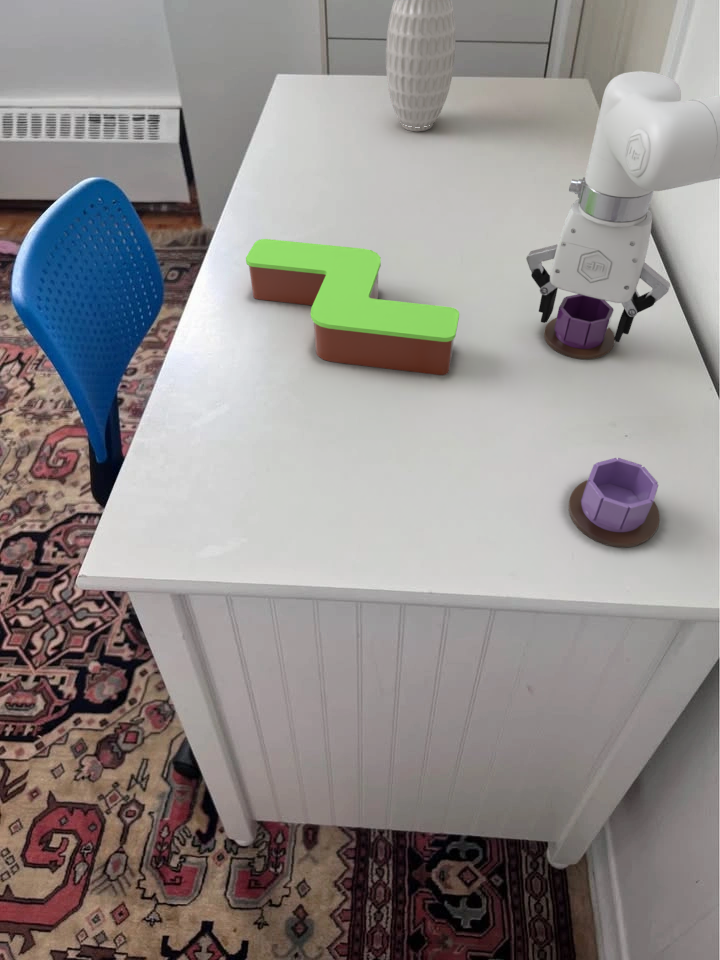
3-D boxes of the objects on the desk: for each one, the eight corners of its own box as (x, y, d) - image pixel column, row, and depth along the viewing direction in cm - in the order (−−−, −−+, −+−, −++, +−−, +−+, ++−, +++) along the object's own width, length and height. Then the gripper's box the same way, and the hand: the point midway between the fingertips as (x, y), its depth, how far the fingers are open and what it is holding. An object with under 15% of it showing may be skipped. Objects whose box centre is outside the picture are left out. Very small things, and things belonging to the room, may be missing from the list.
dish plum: (609, 327, 95) (617, 301, 92) (597, 354, 91) (605, 328, 88) (562, 315, 97) (568, 289, 94) (548, 341, 93) (554, 315, 90)
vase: (381, 137, 138) (383, -40, 118) (388, 111, 147) (391, -58, 126) (447, 140, 137) (461, -38, 116) (450, 114, 146) (464, -56, 125)
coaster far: (620, 328, 96) (622, 324, 95) (604, 366, 90) (605, 363, 90) (554, 311, 99) (555, 308, 98) (535, 347, 93) (536, 344, 93)
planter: (465, 296, 101) (470, 259, 97) (450, 377, 89) (454, 339, 85) (262, 275, 106) (257, 238, 101) (220, 349, 93) (213, 311, 89)
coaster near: (665, 497, 75) (667, 493, 75) (648, 559, 70) (649, 556, 70) (581, 470, 78) (582, 466, 78) (558, 528, 73) (559, 524, 72)
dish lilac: (651, 497, 75) (662, 471, 72) (637, 541, 71) (649, 515, 68) (589, 477, 77) (598, 451, 74) (574, 519, 73) (582, 493, 70)
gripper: (530, 197, 81) (508, 325, 93) (689, 230, 75) (644, 360, 88) (549, 170, 85) (526, 295, 98) (701, 199, 80) (656, 328, 93)
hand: (582, 326), depth 93 cm, fingers open, 9 cm apart
